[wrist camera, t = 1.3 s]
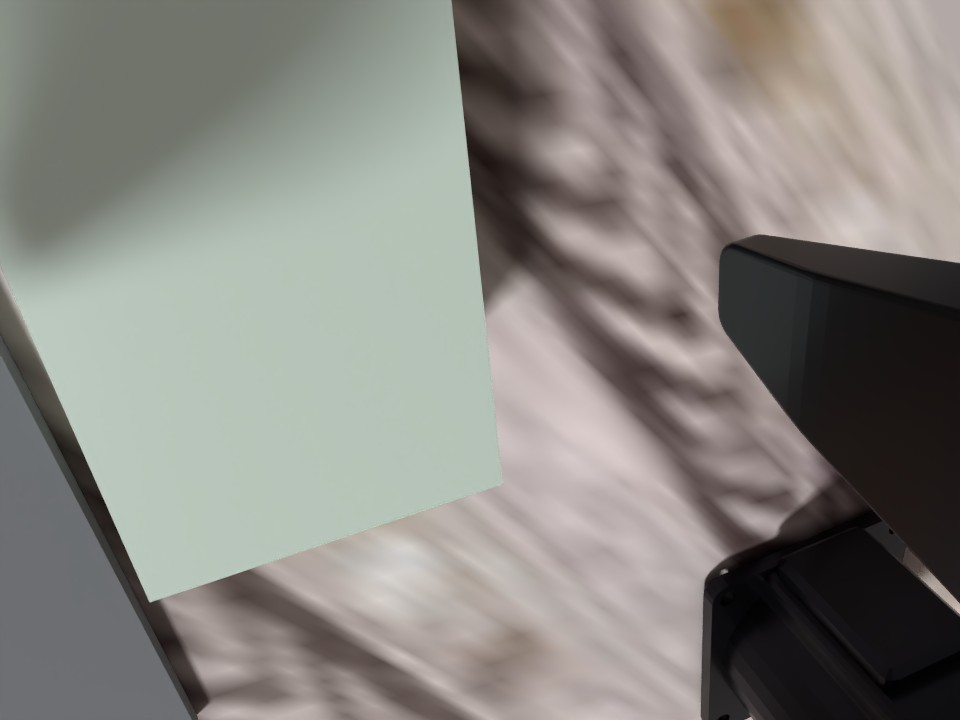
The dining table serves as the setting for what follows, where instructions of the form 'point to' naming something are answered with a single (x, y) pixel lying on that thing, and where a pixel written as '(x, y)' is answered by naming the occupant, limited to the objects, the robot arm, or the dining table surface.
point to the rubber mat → (66, 591)
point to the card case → (248, 266)
